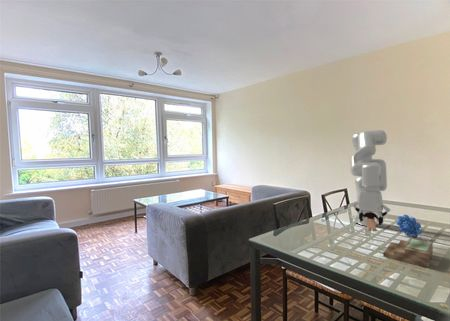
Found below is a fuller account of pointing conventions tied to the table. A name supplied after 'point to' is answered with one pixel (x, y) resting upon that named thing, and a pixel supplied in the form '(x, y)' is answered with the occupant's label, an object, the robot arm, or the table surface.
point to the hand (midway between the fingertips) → (370, 222)
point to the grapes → (409, 225)
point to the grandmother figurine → (371, 220)
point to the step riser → (411, 252)
